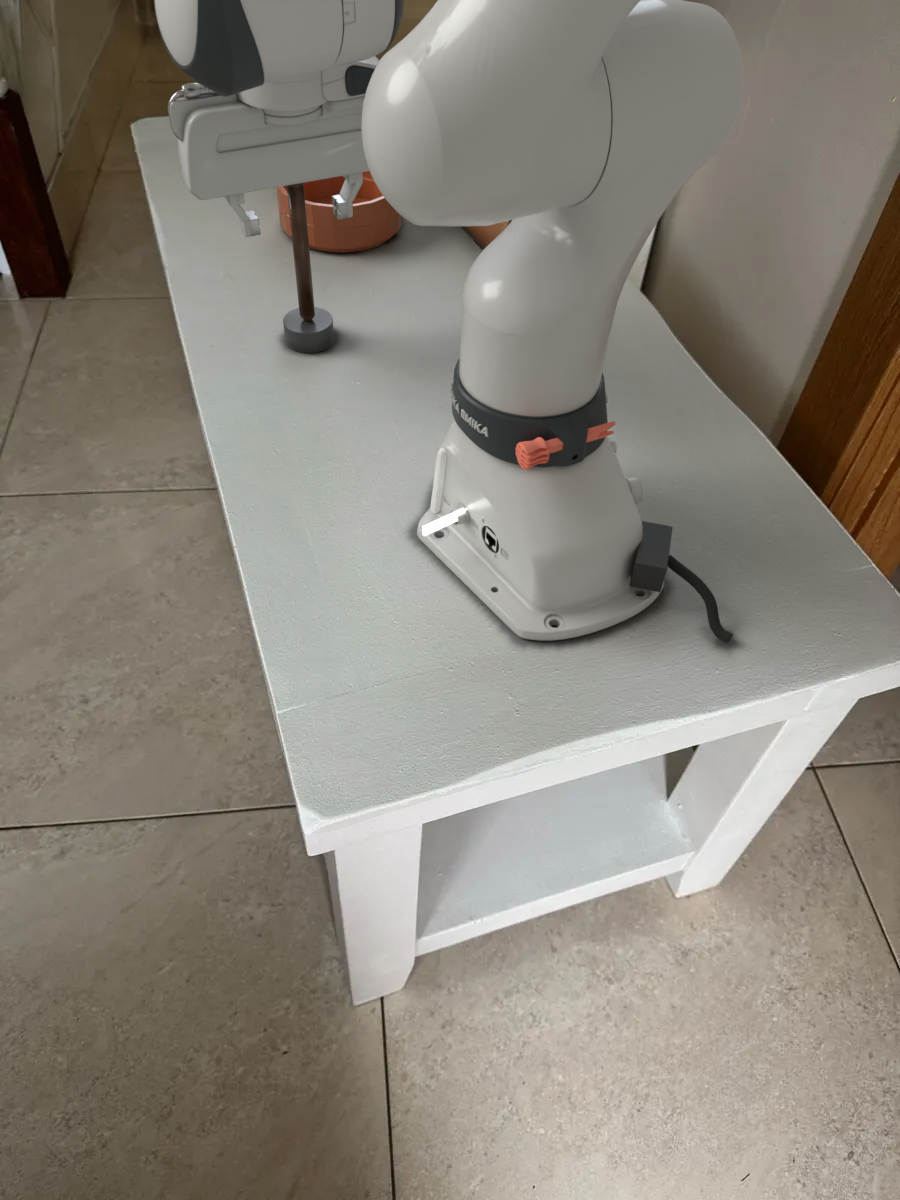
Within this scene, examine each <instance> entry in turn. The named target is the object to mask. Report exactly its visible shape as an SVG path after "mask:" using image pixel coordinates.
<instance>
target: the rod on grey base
mask: <svg viewBox="0 0 900 1200" xmlns="http://www.w3.org/2000/svg"><path fill="white" fill-rule="evenodd" d="M287 195H288V205H289V214H290V224H291V234H292V237H291V242H292V252H293V262H294V272H295V282H296V291H297V292H296V293H297V301H298V307H297V308H294V309H292V310H290V311H288V312H287V313H286V314H285V315H284V316H283V321H282V324H283V333H284V340H285V343H286V346H287V347H288V348H289V349H291V350H293V351H295V352H297V353H301V354H302V353H303V354H313V353H314V354H315V353H319V352H323V351H326V350H327V349H329V348H330V347H331V346H332V345H333V344H334V342H335V329H334V319H333V316H332V314H331V313H330V312H329V311H327V309H324V308H321V307H317V306H315V297H314V285H313V276H312V275H313V274H312V262H311V252H310V248H309V239H308V228H307V217H306V205H305V194H304V183H298V184H293V185H287Z"/></svg>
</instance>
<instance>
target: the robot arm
mask: <svg viewBox="0 0 900 1200" xmlns="http://www.w3.org/2000/svg"><path fill="white" fill-rule="evenodd" d="M153 7H154V13H155V19H156V23H157V27H158V31H159V35H160V38H161V40H162V43H163V45H164V48H165V50H166V53H167V54H168V56H169V58H170V60H171V61H172V62H173V63H174V64H175V65H176V66H177V67H178V68H179V69H180V70H181V71H182V72H183V73H184V74H186V75H187V76H188V77H189V78H191V79H192V80H193V81H195V82H193V81H192V82H187V83H185V84H182V85H181V87H180V88H181V89H179V90H177V91H176V92H175V93H173V94H172V95H171V97H170V99H169V101H168V105H167V114H168V119H169V124H170V128H171V129H170V130H171V131H172V134H173V135H174V136H175V137H176V139H177V153H178V163H179V165H178V166H179V172H180V177H181V180H182V183H183V184H184V186H185V188H186V189H187V191H188V192H189V193H190V194H192V196H194V198H196V199H197V200H199V201H207V200H213V199H219V198H224V199H225V200H226V201H227V202H226V203H228V205H229V207H231V209H232V211H234V212H235V214H236V215H237V216H238V221H239V227H240V231H241V233H242V235H243V236H244V238H251V237H255V236H260V235H261V233H262V232H261V229H260V218H259V217H258V215H256V212H255V211H254V210H245V209H244V208H243V207H242V206H241V205H243V204H245V203H246V199H245V194H246V193H252V192H258V191H259V192H260V191H263V190H271V189H277V188H276V187H281V186H287V185H293V184H298V183H304V182H310V181H315V180H321V179H327V178H332V177H338V176H343V177H344V178H345V181H344V184H343V186H342V189H341V191H340V194H338V195H334V196H332V203H333V204H334V205H333V213H334V215H335V216H336V217H337V219H338V220H339V219H344V218H349V217H353V204H352V201H354V199H355V197H356V195H357V193H358V191H359V189H360V187H361V185H362V183H363V176H362V172H366V171H370V173H371V175H372V177H373V179H374V181H375V183H376V185H377V187H378V189H379V190H380V192H381V193H382V195H383V196H384V198H385V199H386V200H387V201H388V203H389V204H390V205H391V206H392V207H393V208H394V209H395V210H396V211H397V212H398V213H399V214H400V215H401V216H402V217H403V219H405V220H406V221H407V222H409V223H410V224H413V225H414V226H419V227H456V228H457V227H461V226H488V225H493V224H497V223H501V222H505V221H509V220H512V221H511V222H510V224H509V225H508V226H507V227H506V228H505V229H504V231H503V232H502V233H501V234H500V235H498V236H497V237H496V238H495V239H494V240H493V241H492V242H491V243H490V244H489V245H488V246H487V247H486V248H485V249H484V250H481V252H480V253H479V254H478V255H477V257H476V258H475V259H474V261H473V263H472V264H471V266H470V268H469V270H468V272H467V274H466V277H465V279H464V280H465V281H464V284H463V288H462V298H461V319H460V321H461V323H460V341H459V342H460V343H459V344H460V345H459V358H458V360H457V361H456V364H455V366H454V369H453V377H452V379H451V386H450V387H451V388H450V396H451V397H450V398H451V413H452V416H453V419H452V422H451V425H450V427H449V429H448V431H447V434H446V436H445V438H444V440H443V441H442V443H441V445H440V446H439V449H438V452H437V454H436V460H435V467H434V474H433V475H434V476H433V482H432V491H431V498H430V507H429V508H428V510H426V512H425V513H424V514H423V515H422V516H421V518H420V519H419V521H418V524H417V529H416V535H417V538H418V539H419V540H420V541H421V542H422V543H423V544H424V545H425V546H426V547H427V548H428V549H429V551H431V552H432V554H434V556H436V557H437V558H438V559H439V560H440V561H441V562H442V563H443V564H444V565H445V566H446V567H447V568H448V569H449V570H450V571H451V572H452V573H453V574H454V575H455V576H456V577H457V578H458V579H459V580H460V581H461V582H462V583H463V584H464V585H465V586H467V588H468V589H469V590H470V591H471V592H473V594H474V595H475V596H477V598H478V599H479V600H480V601H482V603H484V605H486V606H487V607H488V608H489V609H490V611H492V612H493V613H494V614H495V616H496V617H498V618H499V619H500V620H501V621H502V622H503V623H504V625H506V626H507V627H508V628H509V629H510V630H511V632H512V633H514V634H515V635H516V636H518V637H519V638H521V639H523V640H531V641H561V640H567V639H572V638H578V637H582V636H587V635H590V634H593V633H596V632H599V631H602V630H606V629H609V628H610V627H612V626H616V625H618V624H620V623H623V622H625V621H627V620H629V619H630V618H633V617H635V616H636V615H638V614H639V613H641V612H643V611H644V610H645V609H646V608H648V607H649V606H651V605H652V604H653V602H654V601H656V600H657V598H658V597H659V596H660V594H661V593H662V591H663V589H664V585H665V578H666V576H667V572H668V568H669V569H670V570H671V571H673V572H674V573H675V574H677V576H679V577H680V578H682V579H683V580H684V581H685V582H686V583H688V584H689V585H690V586H691V587H692V588H693V589H694V590H695V591H696V592H697V593H698V595H699V596H700V597H701V599H702V600H703V602H704V605H705V609H706V614H707V615H706V616H707V622H708V625H709V627H710V630H711V633H713V635H714V636H715V637H716V638H717V639H718V640H720V641H722V642H724V643H726V644H729V643H730V641H731V640H732V638H733V637H734V633H732V632H730V631H728V630H727V629H725V628H724V627H723V625H722V623H721V620H720V615H719V609H718V604H717V600H716V598H715V596H714V594H713V592H712V591H711V590H710V588H709V586H708V585H707V584H706V583H705V582H704V580H702V579H701V578H700V577H699V576H698V575H696V573H694V572H693V571H692V570H690V568H688V567H687V566H685V565H684V564H682V563H681V562H680V561H679V560H677V559H676V558H675V557H674V556H673V555H672V554H670V551H671V542H672V536H673V529H674V528H673V526H671V525H666V524H661V523H656V522H655V523H654V522H650V521H645V520H642V518H641V515H640V512H639V509H638V507H637V504H638V503H640V502H642V499H643V495H644V494H643V485H642V483H641V480H640V479H639V477H638V476H635V475H630V476H625V474H624V472H623V470H622V467H621V465H620V462H619V460H618V457H617V454H616V453H617V451H618V448H617V447H618V446H617V442H616V441H615V438H609V436H612V435H613V434H614V433H615V430H610V429H611V428H614V427H615V426H616V421H608V408H607V407H608V406H607V404H608V394H607V389H606V382H605V376H604V373H603V371H604V366H605V359H606V356H607V355H606V354H607V350H608V345H609V341H610V336H611V333H612V332H611V331H612V327H613V324H614V323H613V322H614V319H615V314H616V310H617V306H618V302H619V299H620V296H621V294H622V291H623V289H624V286H625V283H626V281H627V279H628V276H629V274H630V272H631V270H632V268H633V266H634V264H635V262H636V260H637V258H638V256H639V255H640V253H641V251H642V249H643V248H644V246H645V244H646V242H647V240H648V239H649V237H650V235H651V234H652V232H653V230H654V229H655V227H656V225H657V224H658V222H659V221H660V219H661V217H662V216H663V214H664V213H665V211H666V210H667V208H668V207H669V205H670V204H671V202H672V201H673V200H674V198H676V196H677V194H678V193H679V192H680V191H681V189H682V188H683V187H684V186H685V185H686V183H687V182H688V181H689V180H690V179H691V178H692V177H693V176H694V175H695V174H696V172H697V171H698V170H700V169H701V168H702V167H703V166H704V165H705V164H706V163H707V162H708V161H710V159H712V158H713V157H714V156H715V155H716V154H718V153H719V151H721V149H722V148H723V147H724V146H725V144H727V141H728V140H729V138H730V137H731V135H732V133H733V131H734V129H735V127H736V125H737V122H738V118H739V115H740V112H741V109H742V104H743V99H744V92H745V67H744V60H743V56H742V51H741V47H740V44H739V41H738V38H737V37H736V35H735V32H734V30H733V28H732V26H731V25H730V23H729V22H728V20H727V19H726V18H725V17H724V16H723V14H721V13H720V12H719V11H718V10H717V9H716V8H713V7H712V6H710V5H708V4H705V3H701V2H694V1H690V0H689V1H688V0H437V1H436V2H435V3H434V5H433V6H432V8H431V9H430V10H429V11H428V12H427V13H426V14H425V16H424V17H423V18H422V19H421V20H420V21H419V22H418V24H417V25H416V26H415V27H414V28H413V29H412V30H411V31H410V32H409V33H408V34H407V35H406V36H405V37H404V38H402V40H400V41H399V42H397V43H396V45H394V46H393V47H392V48H390V46H391V45H392V43H393V42H394V40H395V38H396V36H397V34H398V32H399V29H400V26H401V24H402V23H401V22H402V19H403V14H404V7H405V0H153ZM389 48H390V49H389ZM388 49H389V50H388ZM382 54H383V55H382ZM377 55H382V56H381V58H380V59H379V58H378V57H377ZM181 96H182V97H181ZM554 626H555V627H554Z"/></svg>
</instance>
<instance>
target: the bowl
mask: <svg viewBox="0 0 900 1200" xmlns="http://www.w3.org/2000/svg"><path fill="white" fill-rule="evenodd" d="M362 176H363V183H362V185H361V187H360V189H359V191H358V193H357V195H356V197H355V199H354V201H352V204H353V217H349V218H344V219H339V220H338V219H337V217H336V216H335V215H334V213H333V205H334V204H333V203H332V196H334V195H338V194H340V191H341V189H342V186H343V184H344V181H345V178H344V177H343V176H338V177H332V178H327V179H321V180H315V181H310V182H304V194H305V205H306V217H307V228H308V239H309V249H312V250H315V251H316V250H317V251H321V252H326V253H327V252H329V253H355V252H361V251H362V252H363V251H366V250H369V249H373V248H376V247H378V246H380V245H383V244H384V243H386V242H388V241H389V240H390V239H391V238H392V237H393V236H394V235H396V234H397V233H398V232H400V229H401V227H402V225H403V223H404V217H402V216H401V215H400V214H399V213H398V212H397V211H396V210H395V209H394V208H393V207H392V206H391V205H390V204H389V203H388V201H387V200H386V199H385V198H384V196H383V195H382V193H381V192H380V190H379V189H378V187H377V185H376V183H375V181H374V179H373V177H372V175H371V173H370V171H366V172H362ZM275 189H276V196H277V207H278V214H279V224H280V227H281V228H282V230H283V231H284V232H285V234H286V235H287V236H289V237H290V238H292V234H291V224H290V214H289V205H288V195H287V186H281V187H276V188H275Z"/></svg>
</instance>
